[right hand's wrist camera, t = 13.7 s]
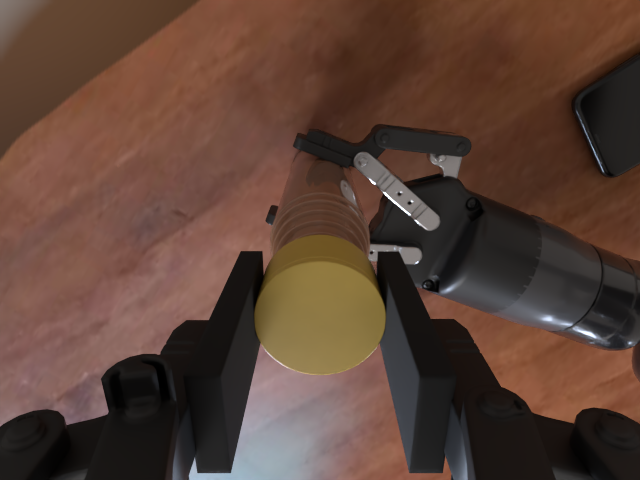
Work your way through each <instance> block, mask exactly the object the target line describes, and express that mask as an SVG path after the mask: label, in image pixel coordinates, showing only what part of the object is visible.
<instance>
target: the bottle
mask: <svg viewBox="0 0 640 480" xmlns="http://www.w3.org/2000/svg"><path fill="white" fill-rule="evenodd" d="M310 235H330V236H335V237H338V238H342V239H344V240H346V241H348V242H350V243H352V244H354V245H355V246H357V247H358V248H359V249H360V250H361V251H362V252H363V253H364V254H365V255H366V256H367V257H369V252H370V233H369V228H368V224H367V221H366V218H365V215H364V212H363V209H362V206H361V203H360V200H359V197H358V194H357V191H356V188H355V185H354V182H353V179H352V176H351V173H350V170H349V168H348V169H347V168H344V167H342V166H339V165H337V164H335V163H332V162H329V161H327V160H324V159H322V158H319V157H317V156H314V155H312V154H309V153H307V152H304V151H300V152H299V153H298V154H297V156H296V157H295V159H294V161H293V164H292V167H291V170H290V173H289V176H288V179H287V182H286V185H285V188H284V191H283V194H282V197H281V200H280V203H279V206H278V209H277V213H276V216H275V219H274V222H273V225H272V228H271V233H270V251H271V256H272V257H273V256H274V255H275V254H276V253H277V252H278V251H279V250H280V249H281V248H282V247H283V246H285V245H286V244H288V243H290V242H292V241H294V240H296V239H299V238H302V237H305V236H310Z"/></svg>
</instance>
